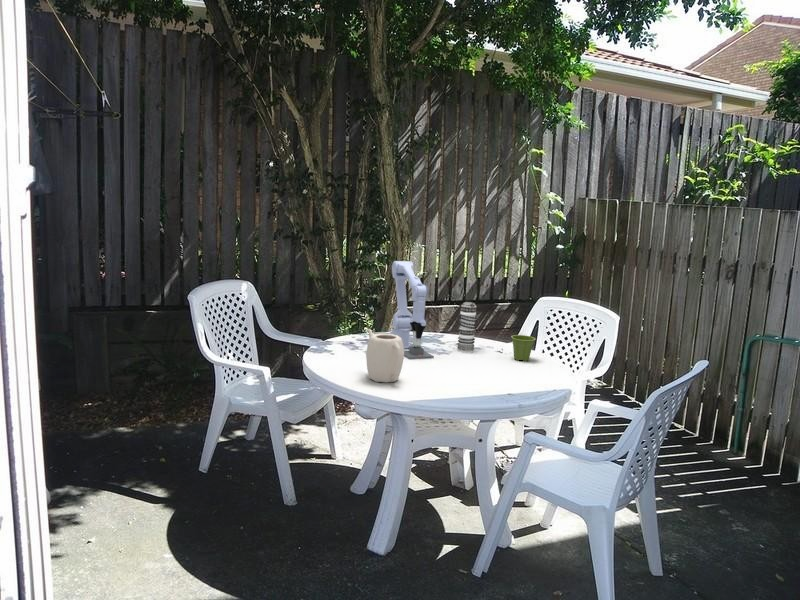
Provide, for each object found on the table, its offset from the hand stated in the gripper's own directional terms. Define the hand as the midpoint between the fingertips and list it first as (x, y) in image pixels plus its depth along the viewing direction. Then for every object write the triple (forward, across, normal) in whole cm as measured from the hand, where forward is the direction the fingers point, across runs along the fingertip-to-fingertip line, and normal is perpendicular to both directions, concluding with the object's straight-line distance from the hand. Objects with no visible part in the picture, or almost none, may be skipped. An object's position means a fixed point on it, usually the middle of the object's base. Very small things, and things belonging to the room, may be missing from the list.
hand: (417, 337), depth 342 cm
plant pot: (+9, +17, +50) cm, 53 cm away
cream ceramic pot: (+9, +37, -31) cm, 49 cm away
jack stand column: (+4, 0, 0) cm, 4 cm away
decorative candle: (+9, -5, +30) cm, 31 cm away
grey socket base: (+9, 0, 0) cm, 9 cm away
